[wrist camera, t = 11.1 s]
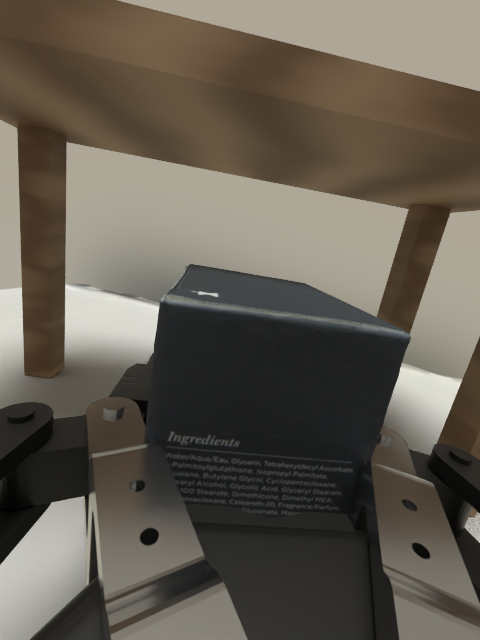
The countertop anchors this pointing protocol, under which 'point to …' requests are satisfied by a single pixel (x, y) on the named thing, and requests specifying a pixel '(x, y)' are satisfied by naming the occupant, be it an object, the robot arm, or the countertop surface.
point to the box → (268, 392)
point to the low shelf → (229, 140)
